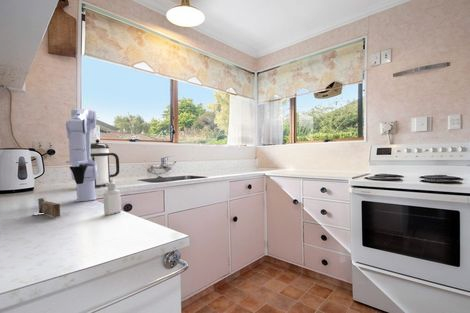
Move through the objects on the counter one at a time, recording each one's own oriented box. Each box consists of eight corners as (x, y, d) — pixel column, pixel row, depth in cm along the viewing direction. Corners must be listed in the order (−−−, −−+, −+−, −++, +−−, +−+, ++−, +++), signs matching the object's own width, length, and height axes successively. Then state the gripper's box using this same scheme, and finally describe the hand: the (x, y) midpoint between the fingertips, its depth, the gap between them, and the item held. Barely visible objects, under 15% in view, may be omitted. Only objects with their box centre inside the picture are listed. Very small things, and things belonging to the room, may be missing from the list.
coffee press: (106, 187, 147) (104, 138, 146) (80, 188, 147) (78, 139, 146) (120, 183, 164) (118, 139, 163) (97, 184, 165) (95, 140, 164)
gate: (41, 213, 87) (40, 201, 87) (46, 212, 88) (45, 200, 88) (54, 217, 81) (54, 205, 80) (60, 216, 82) (59, 204, 82)
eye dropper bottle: (122, 212, 85) (121, 179, 85) (105, 215, 82) (103, 180, 82) (120, 210, 89) (118, 178, 89) (103, 213, 86) (101, 179, 85)
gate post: (36, 212, 89) (35, 198, 89) (52, 211, 92) (51, 196, 91) (31, 216, 85) (30, 200, 85) (49, 214, 87) (48, 198, 87)
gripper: (69, 150, 101) (71, 182, 101) (61, 150, 88) (63, 187, 88) (89, 149, 104) (90, 180, 104) (84, 149, 91) (86, 185, 91)
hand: (79, 183), depth 96 cm, fingers closed
